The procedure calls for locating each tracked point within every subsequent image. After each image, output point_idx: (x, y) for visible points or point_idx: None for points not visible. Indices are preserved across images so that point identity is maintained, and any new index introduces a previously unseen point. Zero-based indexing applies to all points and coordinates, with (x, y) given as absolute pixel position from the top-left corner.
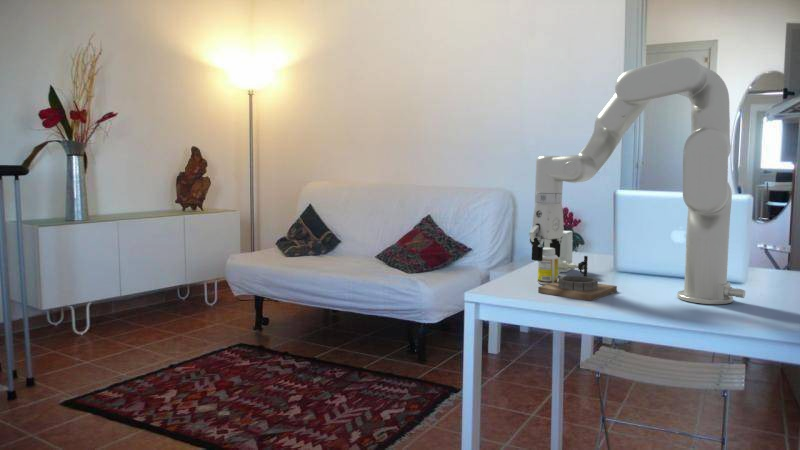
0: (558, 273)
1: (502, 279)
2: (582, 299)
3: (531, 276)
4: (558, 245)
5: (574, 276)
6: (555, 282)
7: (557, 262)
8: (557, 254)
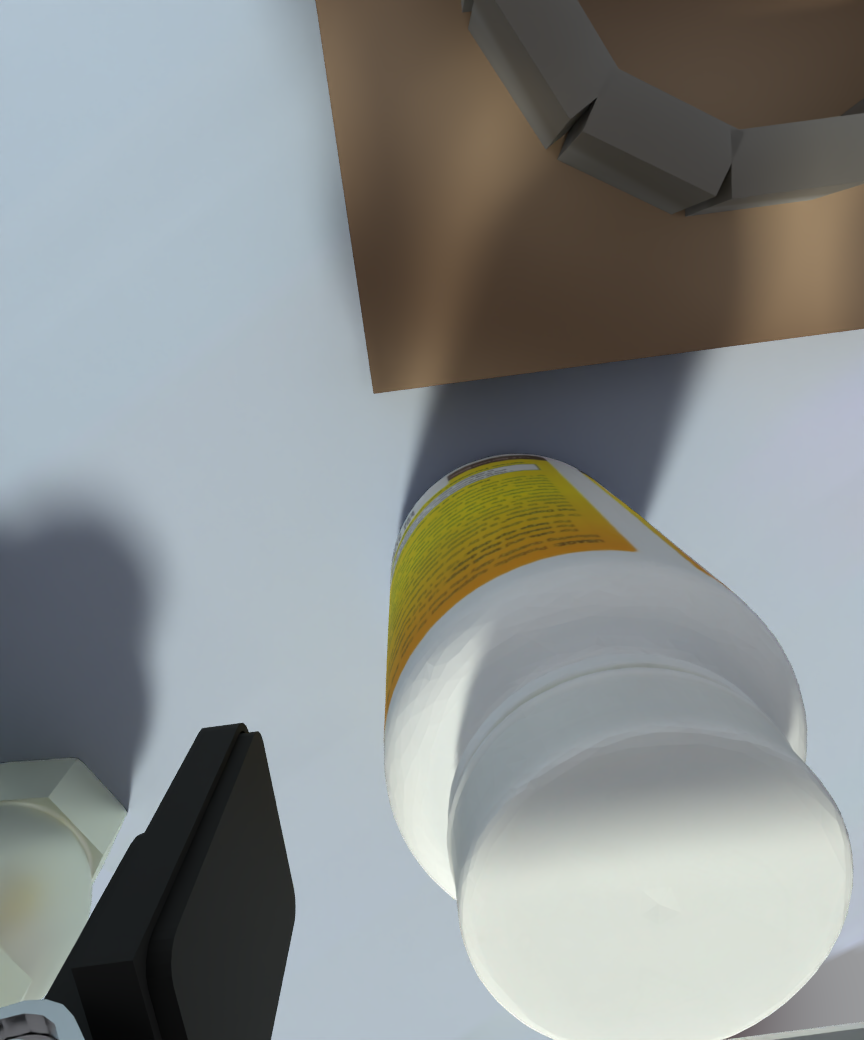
0: (15, 781)
1: None
2: None
3: (305, 923)
4: (184, 935)
5: (604, 48)
6: (696, 336)
7: (505, 540)
8: (250, 778)
